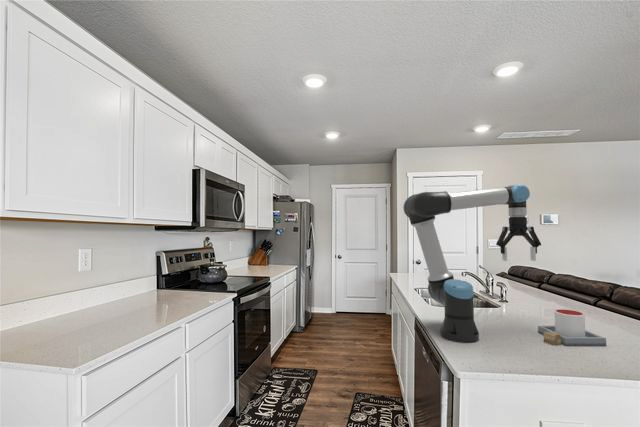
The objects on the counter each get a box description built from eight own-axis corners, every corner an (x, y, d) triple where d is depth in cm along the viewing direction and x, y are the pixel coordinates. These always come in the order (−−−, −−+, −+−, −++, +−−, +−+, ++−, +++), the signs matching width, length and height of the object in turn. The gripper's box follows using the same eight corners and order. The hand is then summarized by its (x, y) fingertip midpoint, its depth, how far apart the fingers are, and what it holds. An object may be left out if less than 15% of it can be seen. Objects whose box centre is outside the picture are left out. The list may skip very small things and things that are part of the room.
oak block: (553, 345, 127) (553, 335, 127) (543, 342, 130) (543, 332, 131) (560, 344, 128) (560, 334, 128) (550, 341, 132) (550, 331, 132)
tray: (565, 345, 126) (565, 338, 126) (538, 332, 142) (538, 325, 142) (606, 345, 126) (605, 338, 126) (574, 332, 142) (574, 325, 142)
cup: (591, 341, 128) (590, 316, 129) (562, 339, 130) (562, 314, 131) (576, 333, 138) (575, 309, 138) (550, 331, 140) (549, 308, 140)
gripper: (495, 216, 152) (497, 261, 151) (549, 216, 151) (550, 261, 150) (487, 217, 159) (489, 259, 158) (538, 216, 159) (539, 259, 158)
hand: (519, 260), depth 154 cm, fingers open, 13 cm apart
